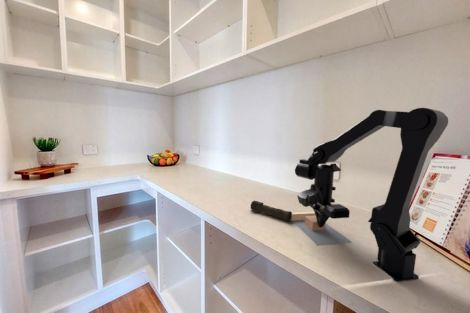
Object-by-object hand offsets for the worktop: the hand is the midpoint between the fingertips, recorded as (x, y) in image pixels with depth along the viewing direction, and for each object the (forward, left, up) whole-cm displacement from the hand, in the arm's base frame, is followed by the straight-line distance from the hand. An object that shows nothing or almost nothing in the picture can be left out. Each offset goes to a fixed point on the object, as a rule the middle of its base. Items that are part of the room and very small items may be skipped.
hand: (320, 226), depth 66 cm
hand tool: (+16, +13, -2) cm, 21 cm away
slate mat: (+2, 0, -2) cm, 3 cm away
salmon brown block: (+3, 0, -2) cm, 4 cm away
